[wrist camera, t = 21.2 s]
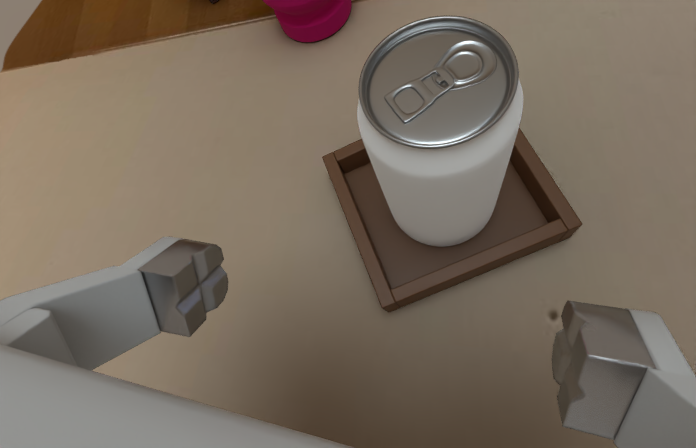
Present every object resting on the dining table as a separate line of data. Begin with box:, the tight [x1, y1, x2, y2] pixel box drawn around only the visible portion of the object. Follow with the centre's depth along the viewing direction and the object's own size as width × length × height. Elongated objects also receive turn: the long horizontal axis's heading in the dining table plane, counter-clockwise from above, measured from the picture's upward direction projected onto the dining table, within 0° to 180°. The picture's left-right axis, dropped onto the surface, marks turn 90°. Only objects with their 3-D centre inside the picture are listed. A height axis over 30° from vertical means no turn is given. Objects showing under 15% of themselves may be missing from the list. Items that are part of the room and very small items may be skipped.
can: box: [357, 16, 523, 247], centre depth 20 cm, size 6×6×12 cm
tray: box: [322, 128, 582, 312], centre depth 25 cm, size 12×11×2 cm
